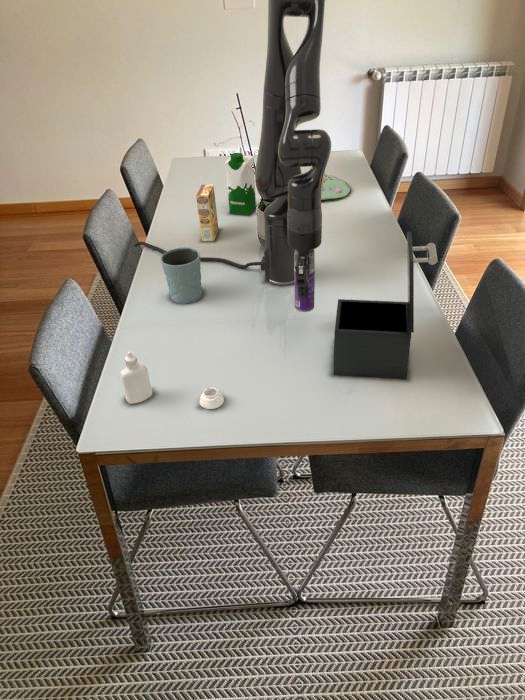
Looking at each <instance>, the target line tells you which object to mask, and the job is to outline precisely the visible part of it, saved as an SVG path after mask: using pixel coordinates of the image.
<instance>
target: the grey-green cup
mask: <svg viewBox="0 0 525 700" xmlns="http://www.w3.org/2000/svg"><path fill="white" fill-rule="evenodd" d="M166 251H167V252H165V253H162V255H161V256H160V263H161V266H162V270H163V274H164V275H165V280H166V283H167V287H168V291H169V296H170V298H171V300H172V301H173V302H174V303H177V304H182V305H183V304H193V303H195V302H197V301H199V300H200V299H201V297H203V287H202V286H203V285H202V272H201V270H202V268H201V261H200V257H201V253H200V252H199V250H197V249H196V248H193V247H188V246H187V247H186V246H185V247H184V246H183V247H177V248H176V247H175V248H171V249H169V250H166Z"/></svg>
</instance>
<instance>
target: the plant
mask: <svg viewBox="0 0 525 700" xmlns="http://www.w3.org/2000/svg"><path fill="white" fill-rule="evenodd" d="M350 192H351V188H350V186H349V185H348V184H346V183H345V182H344V181H342V180H341V179H338V178H336V177H335V176H332V175H328V174H326V173H325V172H324V175H323V180H322V187H321V201H323V200H333V199H340V198H344V197H346V196H347V195H348V194H349V193H350Z"/></svg>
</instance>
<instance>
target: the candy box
mask: <svg viewBox="0 0 525 700" xmlns="http://www.w3.org/2000/svg"><path fill="white" fill-rule="evenodd" d="M195 198H196V208H197V214H198V220H199V229H200V236H201V242H215V239H216V237H217V235H218V232H219V230H220V229H219V221H218V213H217V202H216V193H215V185H214V184H201V186H200V188H199V189H198V191H197V194H196V195H195Z"/></svg>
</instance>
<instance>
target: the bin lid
mask: <svg viewBox="0 0 525 700" xmlns="http://www.w3.org/2000/svg"><path fill="white" fill-rule="evenodd" d="M436 247H437V246H436V244H435V243H434V242H429V243H427V244H426V245H419V246H418V245H416V246H413V235H412V231H406V250H407V251H406V254H407V255H406V257H407V259H406V262H407V268H406V269H407V270H406V271H407V302H408V313H409V330H410V333H411V334H414V333H415V331H414V329H415V327H414V326H415V324H414V323H415V313H414V312H415V311H414V310H415V307H414V305H415V303H414V301H415V300H414V299H415V298H414V296H415V295H414V294H415V293H414V290H415V289H414V287H415V286H414V285H415V283H414V282H415V281H414V279H415V277H414V276H415V275H414V272H415V271H414V267H415V264H420V263H428V264H429V265H432V266H433V265H436V264H437V263H438V255H437V253H438V252H437V248H436ZM421 251H426V257H414V252H421Z"/></svg>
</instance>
